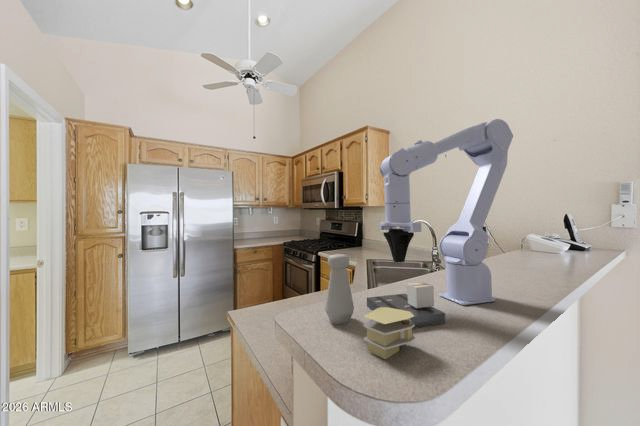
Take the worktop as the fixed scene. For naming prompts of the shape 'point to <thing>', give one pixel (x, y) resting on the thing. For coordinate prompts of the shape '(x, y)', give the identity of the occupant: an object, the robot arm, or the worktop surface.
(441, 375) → the worktop surface
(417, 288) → the white striped block
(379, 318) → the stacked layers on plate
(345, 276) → the salt shaker
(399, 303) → the console
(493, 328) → the worktop surface
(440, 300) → the worktop surface
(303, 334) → the worktop surface
